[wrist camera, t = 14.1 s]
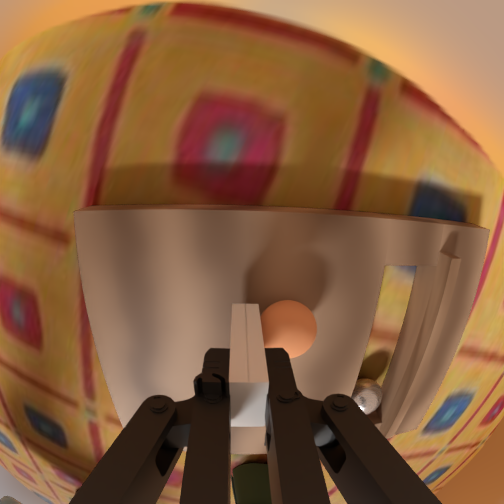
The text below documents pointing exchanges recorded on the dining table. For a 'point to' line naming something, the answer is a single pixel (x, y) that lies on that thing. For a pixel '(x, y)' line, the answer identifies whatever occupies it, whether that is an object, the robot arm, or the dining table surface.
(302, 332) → the rust ball
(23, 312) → the dining table surface
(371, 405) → the steel ball
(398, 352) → the walnut board
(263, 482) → the character mug
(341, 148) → the dining table surface
